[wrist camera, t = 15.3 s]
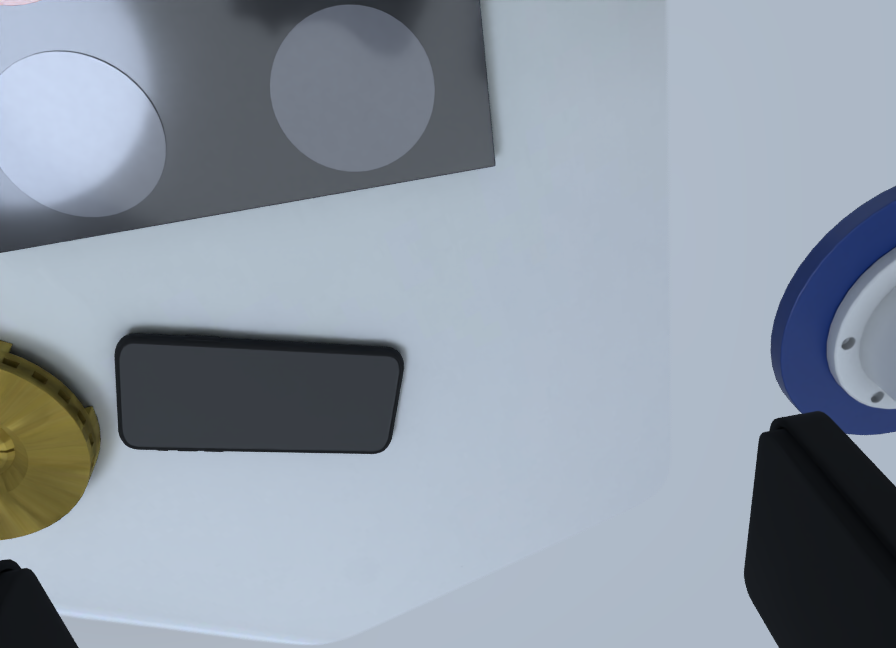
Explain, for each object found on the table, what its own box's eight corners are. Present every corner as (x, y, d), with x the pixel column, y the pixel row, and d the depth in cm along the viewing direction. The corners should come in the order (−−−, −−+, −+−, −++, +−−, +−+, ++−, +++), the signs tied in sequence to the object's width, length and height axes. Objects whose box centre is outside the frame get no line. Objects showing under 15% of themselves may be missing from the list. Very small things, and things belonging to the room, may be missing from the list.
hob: (443, -315, 27) (449, -323, 26) (490, 158, 37) (496, 167, 35) (-239, -224, 26) (-264, -229, 25) (-8, 245, 35) (-18, 257, 34)
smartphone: (390, 457, 44) (118, 452, 41) (388, 447, 45) (121, 441, 41) (407, 351, 40) (111, 336, 37) (405, 342, 41) (115, 326, 38)
